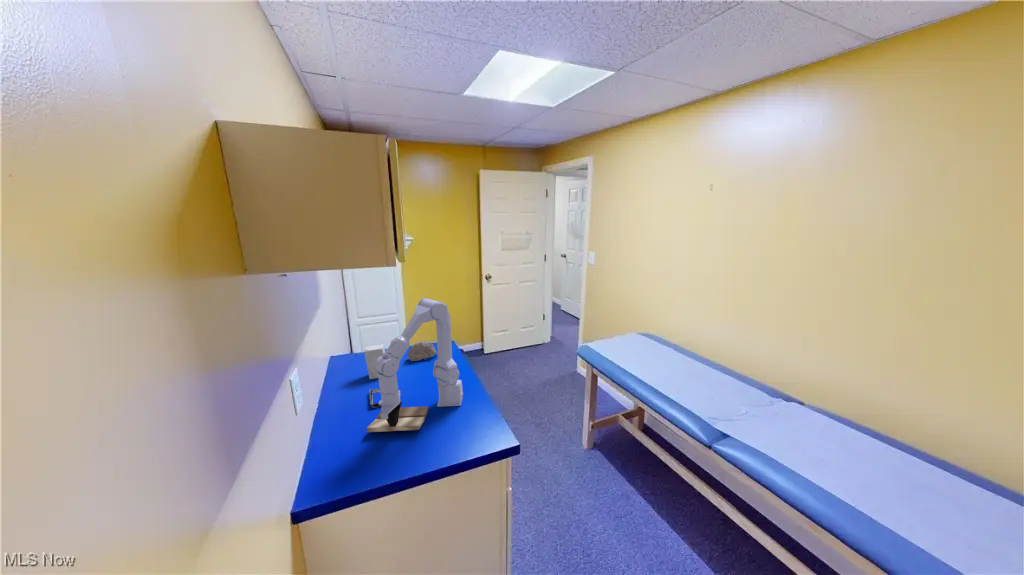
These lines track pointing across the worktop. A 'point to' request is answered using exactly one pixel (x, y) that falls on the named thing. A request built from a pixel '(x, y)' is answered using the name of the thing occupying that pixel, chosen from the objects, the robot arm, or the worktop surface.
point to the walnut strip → (411, 412)
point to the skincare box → (373, 358)
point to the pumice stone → (421, 351)
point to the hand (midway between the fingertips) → (394, 424)
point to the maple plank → (402, 424)
